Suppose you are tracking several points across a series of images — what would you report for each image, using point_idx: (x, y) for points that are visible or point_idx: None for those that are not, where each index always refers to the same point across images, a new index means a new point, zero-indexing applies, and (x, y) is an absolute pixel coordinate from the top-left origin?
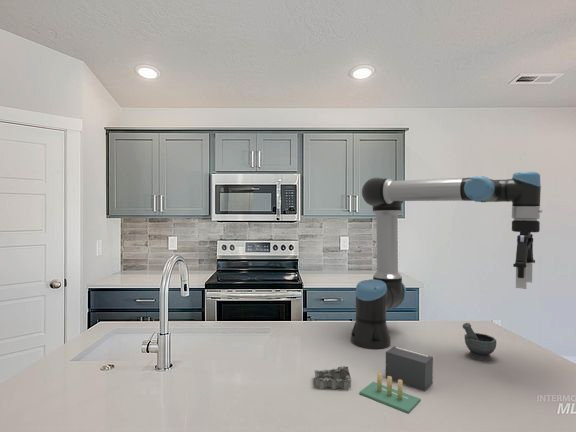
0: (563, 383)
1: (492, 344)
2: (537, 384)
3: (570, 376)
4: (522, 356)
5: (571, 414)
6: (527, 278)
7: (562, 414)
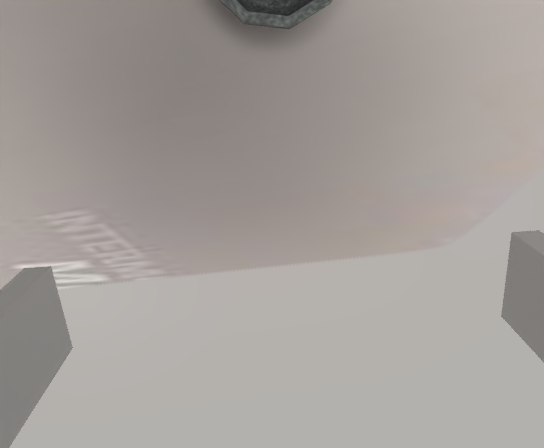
0: (239, 251)
1: (243, 22)
2: (165, 197)
3: (317, 259)
4: (408, 105)
5: None
6: (531, 300)
7: None
